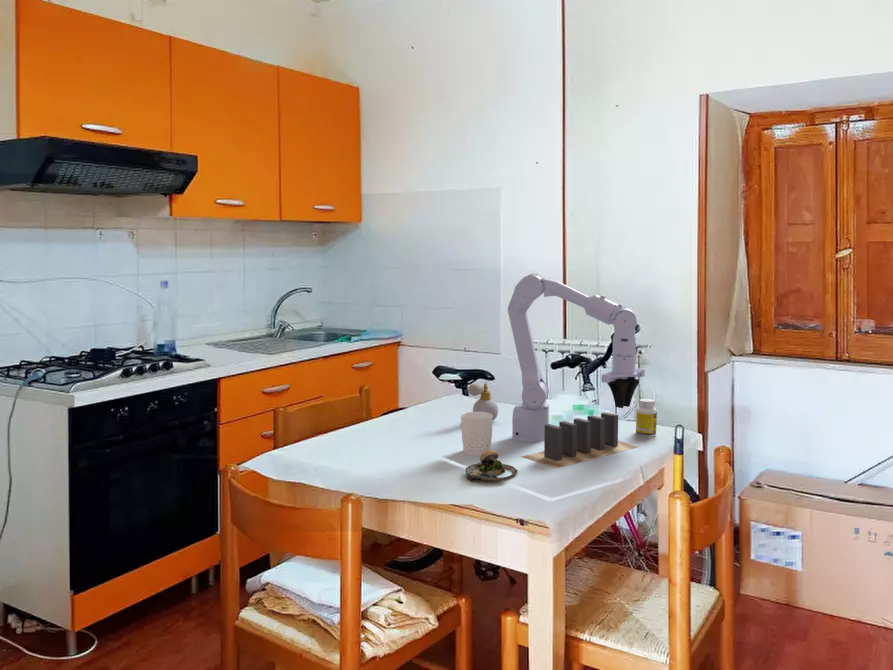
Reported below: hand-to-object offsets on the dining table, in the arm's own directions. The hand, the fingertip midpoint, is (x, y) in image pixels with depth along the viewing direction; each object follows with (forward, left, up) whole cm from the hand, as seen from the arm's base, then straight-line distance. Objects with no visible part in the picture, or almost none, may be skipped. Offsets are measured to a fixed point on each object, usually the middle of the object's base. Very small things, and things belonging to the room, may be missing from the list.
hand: (622, 406), depth 202 cm
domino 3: (-9, -12, -9) cm, 18 cm away
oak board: (-9, -12, -10) cm, 18 cm away
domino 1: (-14, -21, -9) cm, 27 cm away
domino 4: (-6, -8, -9) cm, 14 cm away
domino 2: (-12, -16, -9) cm, 22 cm away
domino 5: (-3, -4, -9) cm, 11 cm away
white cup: (-34, -20, -10) cm, 41 cm away
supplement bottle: (+5, +11, -10) cm, 16 cm away
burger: (-26, -36, -10) cm, 46 cm away
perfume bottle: (-41, +12, -10) cm, 43 cm away
